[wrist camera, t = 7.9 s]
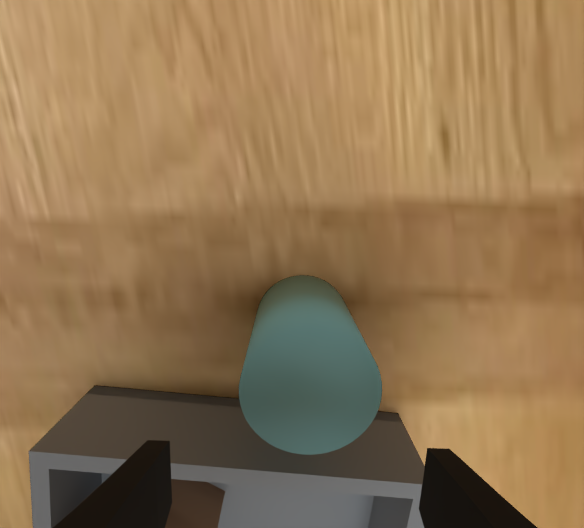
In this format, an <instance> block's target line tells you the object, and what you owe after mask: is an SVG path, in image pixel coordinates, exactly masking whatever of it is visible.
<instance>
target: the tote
mask: <svg viewBox="0 0 584 528" xmlns="http://www.w3.org/2000/svg"><path fill="white" fill-rule="evenodd" d="M147 440H162V441H170V460H171V479H178V480H190V481H202V482H208V483H210V484H212V485H214V486H216V487H218V488H220V489H222V490H224V491H225V495H224V499H223V504H222V509H221V514H220V519H219V523H218V528H424V525H423V522H422V518H421V515H420V511H419V503H420V496H421V490H422V483H423V476H424V469H425V466H424V464H423V462H422V460H421V458H420V456H419V454H418V452H417V450H416V448H415V446H414V444H413V442H412V440H411V438H410V436H409V434H408V432H407V430H406V428H405V426H404V424H403V422H402V420H401V418H400V416H399V414H398V413H389V412H378V411H377V414H376V416H375V418H374V419H373V421H372V423H371V424H370V425H369V427H368V428H367V429H366V430H365V431H364V432H363V433H362V434H361V435H360V436H359V437H358V438H357V439H355V440H354V441H353V442H351V443H349V444H348V445H346V446H344V447H342V448H340V449H337V450H334V451H331V452H327V453H322V454H314V455H304V454H296V453H291V452H287V451H284V450H281V449H279V448H276V447H274V446H273V445H271V444H269V443H267V442H266V441H265V440H263V439H262V438H261V437H260V436H259V435H258V434H256V433H255V431H254V430H253V429H252V428H251V427H250V425H249V424H248V422H247V420H246V419H245V416H244V414H243V412H242V409H241V405H240V400H239V399H236V398H225V397H214V396H203V395H192V394H182V393H171V392H160V391H149V390H138V389H127V388H116V387H105V386H94V387H93V388H92V389H91V390H90V391H89V392H88V393H87V394H86V395H85V396H84V397H83V398H82V399H81V400H80V401H79V402H78V403H77V404H76V405H75V406H74V407H73V408H72V409H71V410H70V411H69V412H68V413H67V414H66V415H65V416H64V417H63V418H62V419H61V420H60V421H59V422H58V423H57V424H56V425H55V426H54V427H53V428H52V429H51V430H50V431H49V432H48V433H47V434H46V435H45V436H44V437H43V438H42V439H41V440H40V441H39V442H38V443H37V444H36V445H35V446H34V447H33V448H32V449H31V450H30V451H29V464H30V482H31V500H32V518H33V528H53V527H54V526H55V525H57V524H58V523H59V522H60V521H61V520H62V519H64V518H65V517H66V516H67V515H68V514H69V513H70V512H72V511H73V510H74V509H75V508H76V507H77V506H78V505H79V504H80V503H82V502H83V501H84V500H85V499H86V498H87V497H88V496H89V495H90V494H91V493H92V492H93V491H94V490H96V489H97V488H98V487H99V486H100V485H101V484H102V483H103V482H104V481H105V480H106V479H107V478H108V477H109V476H110V475H112V474H113V473H114V472H115V471H116V470H117V469H118V468H119V467H120V466H121V465H122V464H123V463H124V462H125V461H126V460H127V459H128V458H129V457H130V456H131V455H132V454H133V453H134V452H135V451H136V450H138V449H139V448H140V447H141V446H142V445H143V444H144V443H145V442H146V441H147Z"/></svg>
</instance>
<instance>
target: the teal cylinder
mask: <svg viewBox="0 0 584 528" xmlns="http://www.w3.org/2000/svg"><path fill="white" fill-rule="evenodd" d="M381 396H382V381H381V376H380V372H379V369H378V366H377V364H376V362H375V360H374V358H373V356H372V355H371V353H370V351H369V349H368V347H367V345H366V343H365V341H364V339H363V337H362V335H361V333H360V331H359V329H358V328H357V326H356V324H355V322H354V320H353V318H352V316H351V314H350V312H349V310H348V308H347V306H346V304H345V303H344V301H343V299H342V297H341V295H340V294H339V292H338V291H337V290H336V289H335V288H334V287H333V286H332V285H330V284H329V283H327V282H326V281H324V280H322V279H319V278H316V277H313V276H304V275H300V276H293V277H289V278H286V279H283V280H281V281H279V282H278V283H276V284H275V285H273V286H272V287H271V288H270V289H269V290H268V291H267V292H266V293H265V295H264V296H263V298H262V300H261V302H260V304H259V307H258V311H257V315H256V318H255V322H254V326H253V330H252V334H251V338H250V342H249V346H248V350H247V354H246V358H245V362H244V365H243V369H242V373H241V377H240V383H239V400H240V405H241V409H242V412H243V414H244V416H245V419H246V420H247V422H248V424H249V425H250V427H251V428H252V429H253V430H254V431H255V433H256V434H258V435H259V436H260V437H261V438H262V439H263V440H265V441H266V442H267V443H269V444H271V445H273V446H274V447H276V448H279V449H281V450H284V451H287V452H291V453H296V454H304V455H314V454H322V453H327V452H331V451H334V450H337V449H340V448H342V447H344V446H346V445H348V444H349V443H351V442H353V441H354V440H355V439H357V438H358V437H359V436H360V435H361V434H362V433H363V432H364V431H365V430H366V429H367V428H368V427H369V425H370V424H371V423H372V421H373V419H374V418H375V416H376V414H377V411H378V409H379V406H380V402H381Z"/></svg>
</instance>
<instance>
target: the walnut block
mask: <svg viewBox="0 0 584 528" xmlns="http://www.w3.org/2000/svg"><path fill="white" fill-rule="evenodd" d="M171 485H172V505H171V508H170V512H169V515H168V519H167V522H166V526H165V528H218V523H219V519H220V514H221V509H222V504H223V499H224V495H225V491H224V490H222V489H220V488H218V487H216V486H214V485H212V484H210V483H208V482H202V481H190V480H178V479H171Z"/></svg>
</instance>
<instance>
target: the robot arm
mask: <svg viewBox="0 0 584 528" xmlns="http://www.w3.org/2000/svg"><path fill="white" fill-rule="evenodd" d="M171 505H172V485H171V460H170V441H162V440H147V441H146V442H145V443H144V444H143V445H142V446H141V447H140V448H139V449H138V450H136V451H135V452H134V453H133V454H132V455H131V456H130V457H129V458H128V459H127V460H126V461H125V462H124V463H123V464H122V465H121V466H120V467H119V468H118V469H117V470H116V471H115V472H114V473H113V474H112V475H110V476H109V477H108V478H107V479H106V480H105V481H104V482H103V483H102V484H101V485H100V486H99V487H98V488H97V489H96V490H94V491H93V492H92V493H91V494H90V495H89V496H88V497H87V498H86V499H85V500H84V501H83V502H82V503H80V504H79V505H78V506H77V507H76V508H75V509H74V510H73V511H72V512H70V513H69V514H68V515H67V516H66V517H65V518H64V519H62V520H61V521H60V522H59V523H58V524H57V525H55V526H54V527H53V528H165V526H166V522H167V519H168V515H169V512H170V508H171ZM419 511H420V515H421V518H422V522H423V525H424V528H537V527H536V526H535V525H534V524H532V523H531V522H530V521H529V520H528V519H527V518H525V517H524V516H523V515H522V514H521V513H520V512H519V511H517V510H516V509H515V508H514V507H513V506H512V505H511V504H510V503H508V502H507V501H506V500H505V499H504V498H503V497H502V496H501V495H500V494H498V493H497V492H496V491H495V490H494V489H493V488H492V487H491V486H490V485H489V484H487V483H486V482H485V481H484V480H483V479H482V478H481V477H480V476H479V475H478V474H477V473H475V472H474V471H473V470H472V469H471V468H470V467H469V466H468V465H467V464H466V463H465V462H463V461H462V460H461V459H460V458H459V457H458V456H457V455H456V454H454V453H453V452H452V451H451V450H450V449H436V448H427V455H426V462H425V469H424V476H423V483H422V490H421V496H420V503H419Z"/></svg>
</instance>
